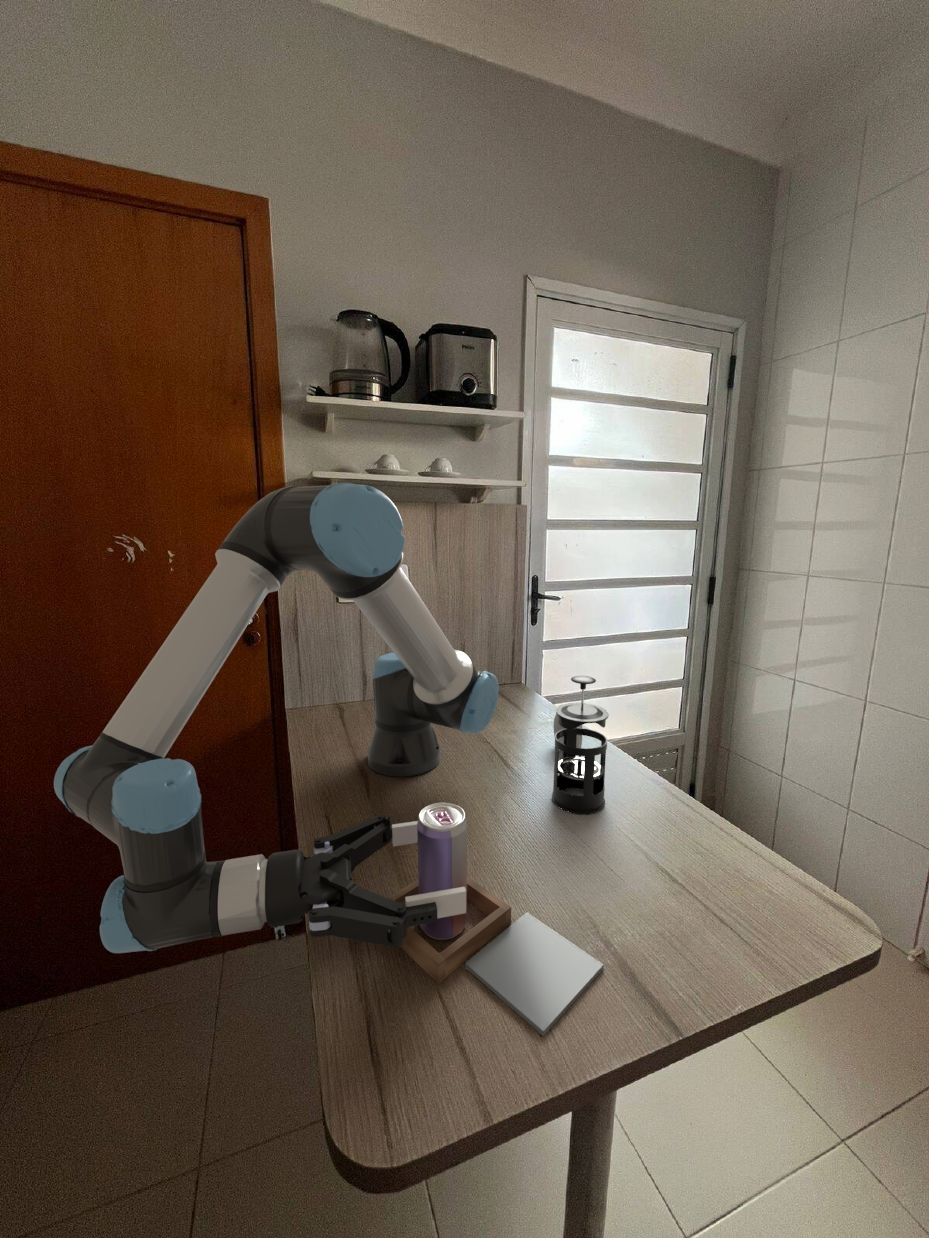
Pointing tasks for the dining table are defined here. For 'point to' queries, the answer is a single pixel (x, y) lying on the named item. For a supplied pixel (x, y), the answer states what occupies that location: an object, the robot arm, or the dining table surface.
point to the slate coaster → (534, 971)
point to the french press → (574, 768)
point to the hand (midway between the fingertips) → (452, 860)
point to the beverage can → (442, 861)
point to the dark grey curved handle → (558, 728)
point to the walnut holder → (467, 944)
